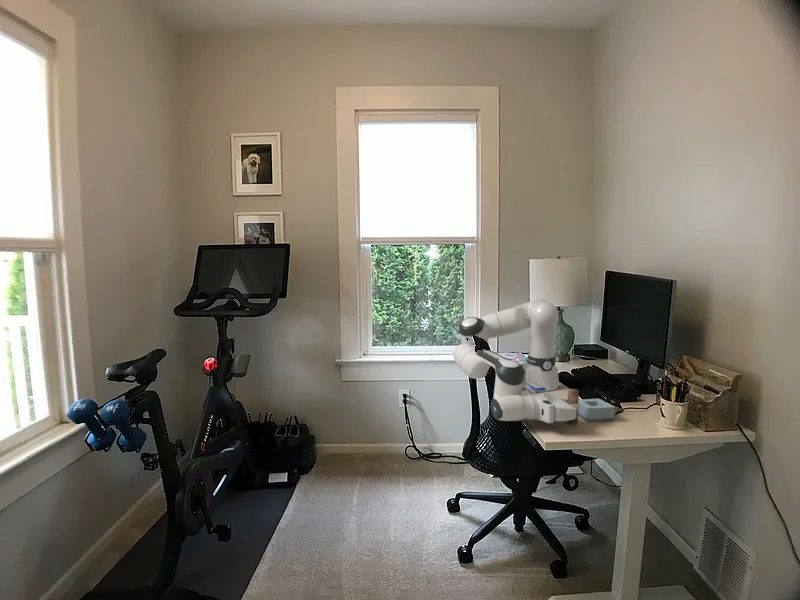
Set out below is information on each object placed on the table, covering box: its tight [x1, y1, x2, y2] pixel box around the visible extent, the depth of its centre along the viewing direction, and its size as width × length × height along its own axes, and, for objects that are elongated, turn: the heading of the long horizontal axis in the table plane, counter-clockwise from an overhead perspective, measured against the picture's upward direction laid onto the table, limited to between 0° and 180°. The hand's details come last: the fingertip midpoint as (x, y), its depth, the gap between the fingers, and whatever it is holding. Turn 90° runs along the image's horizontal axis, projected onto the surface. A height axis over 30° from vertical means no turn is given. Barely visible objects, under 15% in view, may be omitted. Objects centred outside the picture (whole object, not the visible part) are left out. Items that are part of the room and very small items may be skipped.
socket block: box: [578, 398, 615, 423], centre depth 177 cm, size 10×10×5 cm
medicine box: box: [525, 383, 546, 395], centre depth 189 cm, size 8×4×9 cm, turn 12°
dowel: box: [566, 388, 580, 426], centre depth 170 cm, size 4×4×12 cm
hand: (575, 403), depth 170 cm, fingers closed on dowel, 4 cm apart
